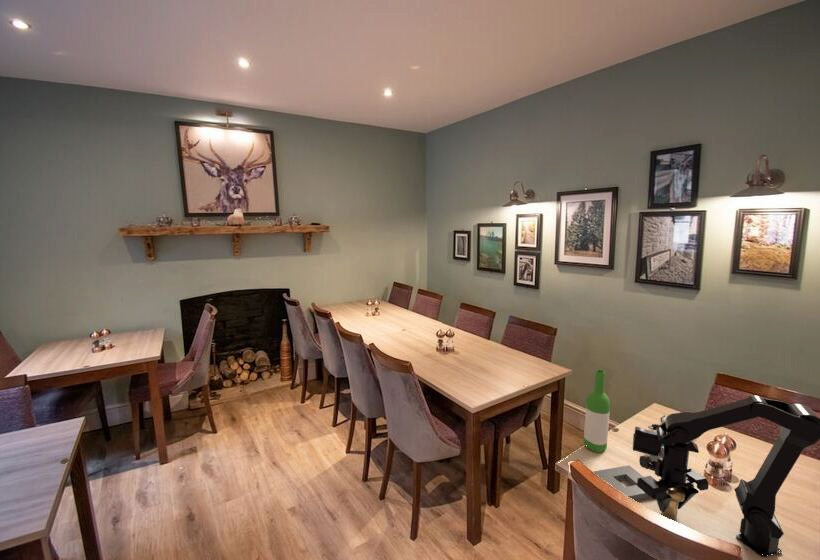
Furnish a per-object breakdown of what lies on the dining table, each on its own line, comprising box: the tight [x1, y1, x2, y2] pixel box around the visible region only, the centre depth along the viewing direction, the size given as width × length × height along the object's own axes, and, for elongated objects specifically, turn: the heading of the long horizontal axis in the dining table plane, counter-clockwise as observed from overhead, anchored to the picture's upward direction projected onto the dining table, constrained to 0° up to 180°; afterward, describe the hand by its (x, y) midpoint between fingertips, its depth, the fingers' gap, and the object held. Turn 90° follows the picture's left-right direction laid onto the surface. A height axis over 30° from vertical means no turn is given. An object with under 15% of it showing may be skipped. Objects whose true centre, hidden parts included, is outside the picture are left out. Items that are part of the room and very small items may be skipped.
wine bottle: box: [583, 369, 611, 453], centre depth 135 cm, size 8×8×30 cm
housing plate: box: [592, 464, 652, 502], centre depth 117 cm, size 12×14×2 cm
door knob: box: [661, 487, 685, 521], centre depth 104 cm, size 6×6×8 cm
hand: (669, 509), depth 105 cm, fingers closed on door knob, 5 cm apart
